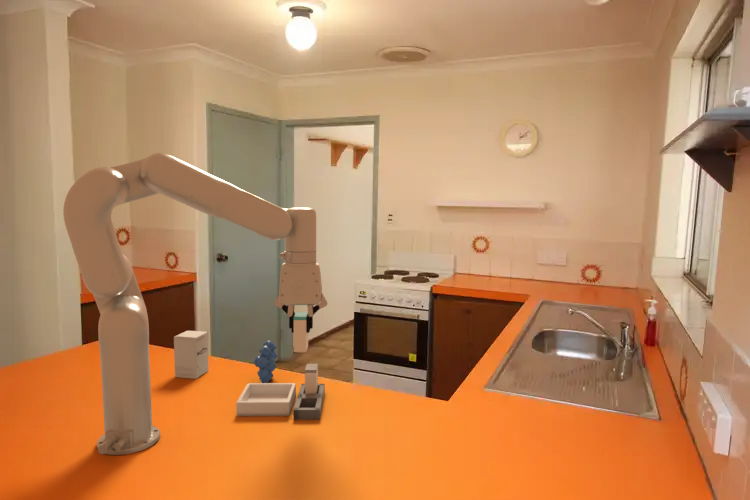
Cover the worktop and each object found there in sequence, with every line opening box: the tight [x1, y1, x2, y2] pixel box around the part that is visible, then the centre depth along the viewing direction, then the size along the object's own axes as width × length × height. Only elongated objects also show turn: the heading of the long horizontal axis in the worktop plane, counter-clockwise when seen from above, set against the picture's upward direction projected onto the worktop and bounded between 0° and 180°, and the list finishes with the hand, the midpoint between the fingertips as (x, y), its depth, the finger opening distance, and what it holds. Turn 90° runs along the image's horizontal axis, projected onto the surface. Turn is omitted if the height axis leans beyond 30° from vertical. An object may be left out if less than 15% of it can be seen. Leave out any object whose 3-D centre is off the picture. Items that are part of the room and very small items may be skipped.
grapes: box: [252, 339, 278, 383], centre depth 151 cm, size 12×7×12 cm, turn 174°
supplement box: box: [173, 330, 210, 380], centre depth 157 cm, size 7×7×13 cm
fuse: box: [304, 363, 319, 394], centre depth 139 cm, size 5×3×9 cm, turn 2°
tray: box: [235, 382, 297, 417], centre depth 135 cm, size 13×13×4 cm
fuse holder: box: [292, 383, 326, 421], centre depth 135 cm, size 17×6×2 cm, turn 2°
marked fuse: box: [293, 311, 309, 353], centre depth 129 cm, size 5×3×9 cm, turn 1°
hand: (301, 330), depth 129 cm, fingers closed on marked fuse, 3 cm apart
